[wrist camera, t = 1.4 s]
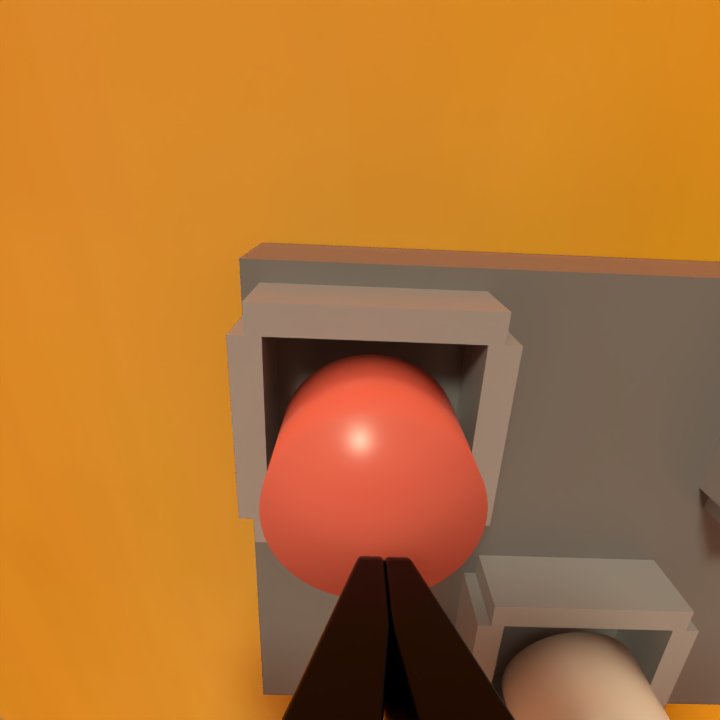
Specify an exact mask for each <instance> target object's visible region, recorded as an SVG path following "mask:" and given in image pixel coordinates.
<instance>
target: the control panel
mask: <svg viewBox="0 0 720 720" xmlns="http://www.w3.org/2000/svg"><path fill="white" fill-rule="evenodd" d="M239 261H240V279H241V297H242V315H243V316H242V317H241V318H240V319H239V320H238V322H237V323H236V324H235V325H234V326H233V328H232V329H231V330H230V331H229V333H228V334H227V335H226V340H227V355H228V369H229V383H230V397H231V412H232V426H233V440H234V454H235V469H236V483H237V497H238V511H239V518H244V519H254V532H255V550H256V568H257V586H258V605H259V623H260V641H261V659H262V677H263V694H268V695H294V693H295V690H296V688H297V686H298V684H299V682H300V680H301V678H302V676H303V673H304V671H305V669H306V667H307V665H308V663H309V661H310V658H311V656H312V654H313V652H314V650H315V648H316V646H317V644H318V641H319V639H320V637H321V635H322V633H323V631H324V629H325V626H326V624H327V622H328V620H329V618H330V616H331V614H332V612H333V609H334V607H335V605H336V603H337V601H338V599H339V597H340V596H337V595H334V594H330V593H327V592H324V591H322V590H319V589H317V588H315V587H313V586H311V585H309V584H307V583H305V582H304V581H302V580H301V579H299V578H298V577H296V576H295V575H293V574H292V573H291V572H290V571H289V570H288V569H286V568H285V567H284V566H283V565H282V563H281V562H280V561H279V560H278V559H277V558H276V557H275V555H274V553H273V552H272V550H271V549H270V547H269V546H268V543H267V541H266V539H265V537H264V534H263V531H262V528H261V523H260V516H259V501H260V496H261V491H262V487H263V483H264V480H265V477H266V474H267V470H268V467H269V464H270V461H271V457H272V454H273V451H274V448H275V444H276V441H277V438H278V434H279V431H280V428H281V425H282V421H283V418H284V415H285V412H286V409H287V406H288V404H289V401H290V400H291V398H292V396H293V394H294V393H295V391H296V390H297V389H298V387H299V386H300V385H301V384H302V383H303V382H304V381H305V380H306V379H307V378H308V377H309V376H310V375H311V374H313V373H314V372H315V371H316V370H318V369H320V368H321V367H323V366H325V365H327V364H329V363H331V362H333V361H336V360H338V359H342V358H345V357H349V356H355V355H362V354H378V355H387V356H392V357H396V358H400V359H402V360H405V361H408V362H410V363H412V364H414V365H416V366H418V367H420V368H421V369H423V370H424V371H426V372H427V373H428V374H430V375H431V376H432V377H433V378H434V379H435V380H436V381H437V382H438V383H439V384H440V386H441V387H442V388H443V389H444V391H445V392H446V394H447V396H448V397H449V399H450V402H451V404H452V406H453V409H454V411H455V414H456V416H457V419H458V421H459V423H460V426H461V428H462V431H463V433H464V435H465V438H466V440H467V443H468V445H469V448H470V450H471V452H472V455H473V457H474V460H475V462H476V465H477V467H478V469H479V472H480V474H481V477H482V479H483V481H484V484H485V489H486V493H487V501H488V512H487V521H486V524H485V528H484V532H483V534H482V536H481V539H480V541H479V543H478V545H477V546H476V548H475V550H474V551H473V553H472V554H471V555H470V556H469V558H468V559H467V560H466V561H465V563H463V564H462V565H461V566H460V567H459V568H458V569H457V570H456V571H455V572H454V573H452V574H451V575H450V576H448V577H447V578H445V579H444V580H442V581H440V582H439V583H437V584H435V585H434V586H431V587H429V588H430V590H431V591H432V593H433V594H434V596H435V597H436V599H437V600H438V602H439V603H440V605H441V606H442V608H443V610H444V611H445V613H446V614H447V616H448V617H449V619H450V620H451V622H452V623H453V625H454V627H455V628H456V630H457V631H458V633H459V634H460V636H461V637H462V639H463V640H464V642H465V644H466V645H467V647H468V648H469V650H470V651H471V653H472V654H473V656H474V657H475V659H476V660H477V662H478V664H479V665H480V667H481V668H482V670H483V671H484V673H485V674H486V676H487V677H488V679H489V681H490V682H491V684H492V685H493V687H494V688H495V690H496V691H497V693H498V694H499V696H500V697H501V699H502V701H503V702H504V704H505V705H506V703H505V700H504V696H503V692H502V688H501V681H502V676H503V673H504V670H505V669H506V667H507V665H508V664H509V662H510V661H511V660H512V659H513V658H514V657H515V656H516V655H517V654H518V653H519V652H520V651H522V650H523V649H524V648H526V647H527V646H529V645H531V644H533V643H535V642H537V641H539V640H541V639H544V638H546V637H550V636H553V635H557V634H562V633H568V632H593V633H599V634H603V635H606V636H609V637H612V638H614V639H616V640H618V641H619V642H621V643H622V644H624V645H625V646H626V647H627V648H628V649H629V650H630V651H631V653H632V654H633V656H634V658H635V660H636V661H637V663H638V665H639V667H640V668H641V670H642V672H643V674H644V675H645V677H646V679H647V681H648V682H649V684H650V686H651V687H652V689H653V691H654V693H655V694H656V696H657V698H658V700H659V701H660V703H661V705H662V707H663V708H664V709H665V706H666V704H667V703H671V704H716V705H720V262H709V261H685V260H661V259H637V258H613V257H590V256H566V255H542V254H518V253H494V252H470V251H446V250H422V249H399V248H375V247H351V246H327V245H303V244H279V243H261V244H260V245H258V246H257V247H255V248H254V249H252V250H251V251H249V252H248V253H246V254H245V255H244V256H242V257H241V258H239Z"/></svg>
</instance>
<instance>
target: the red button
mask: <svg viewBox="0 0 720 720" xmlns="http://www.w3.org/2000/svg"><path fill="white" fill-rule="evenodd" d="M487 512H488V501H487V493H486V489H485V484H484V481H483V479H482V477H481V474H480V472H479V469H478V467H477V465H476V462H475V460H474V457H473V455H472V452H471V450H470V448H469V445H468V443H467V440H466V438H465V435H464V433H463V431H462V428H461V426H460V423H459V421H458V419H457V416H456V414H455V411H454V409H453V406H452V404H451V402H450V399H449V397H448V396H447V394H446V392H445V391H444V389H443V388H442V387H441V386H440V384H439V383H438V382H437V381H436V380H435V379H434V378H433V377H432V376H431V375H430V374H428V373H427V372H426V371H424V370H423V369H421V368H420V367H418V366H416V365H414V364H412V363H410V362H408V361H405V360H402V359H400V358H396V357H392V356H387V355H378V354H362V355H355V356H349V357H345V358H342V359H338V360H336V361H333V362H331V363H329V364H327V365H325V366H323V367H321V368H320V369H318V370H316V371H315V372H314V373H313V374H311V375H310V376H309V377H308V378H307V379H306V380H305V381H304V382H303V383H302V384H301V385H300V386H299V387H298V389H297V390H296V391H295V393H294V394H293V396H292V398H291V400H290V401H289V404H288V406H287V409H286V412H285V415H284V418H283V421H282V425H281V428H280V431H279V434H278V438H277V441H276V444H275V448H274V451H273V454H272V457H271V461H270V464H269V467H268V470H267V474H266V477H265V480H264V483H263V487H262V491H261V496H260V501H259V516H260V523H261V528H262V531H263V534H264V537H265V539H266V541H267V543H268V546H269V547H270V549H271V550H272V552H273V553H274V555H275V557H276V558H277V559H278V560H279V561H280V562H281V563H282V565H283V566H284V567H285V568H286V569H288V570H289V571H290V572H291V573H292V574H293V575H295V576H296V577H298V578H299V579H301V580H302V581H304V582H305V583H307V584H309V585H311V586H313V587H315V588H317V589H319V590H322V591H324V592H327V593H330V594H334V595H337V596H340V594H341V592H342V590H343V588H344V586H345V584H346V582H347V580H348V577H349V575H350V573H351V571H352V569H353V567H354V565H355V562H356V560H357V559H358V558H359V557H360V556H380V557H382V558H383V560H385V558H386V557H408V558H409V559H411V560H412V562H413V563H414V565H415V566H416V568H417V569H418V571H419V573H420V574H421V576H422V577H423V579H424V580H425V582H426V583H427V585H428V586H429V587H431V586H434V585H435V584H437V583H439V582H440V581H442V580H444V579H445V578H447V577H448V576H450V575H451V574H452V573H454V572H455V571H456V570H457V569H458V568H459V567H460V566H461V565H462V564H463V563H465V561H466V560H467V559H468V558H469V556H470V555H471V554H472V553H473V551H474V550H475V548H476V546H477V545H478V543H479V541H480V539H481V536H482V534H483V532H484V528H485V524H486V521H487Z"/></svg>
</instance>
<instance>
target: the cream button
mask: <svg viewBox="0 0 720 720" xmlns="http://www.w3.org/2000/svg"><path fill="white" fill-rule="evenodd" d="M501 688H502V692H503V696H504V700H505V703H506V707H507V708H508V710H509V711H510V713H511V714H512V716H513V718H514V719H515V720H670V719H669V717H668V715H667V714H666V712H665V710H664V708H663V707H662V705H661V703H660V701H659V700H658V698H657V696H656V694H655V693H654V691H653V689H652V687H651V686H650V684H649V682H648V681H647V679H646V677H645V675H644V674H643V672H642V670H641V668H640V667H639V665H638V663H637V661H636V660H635V658H634V656H633V654H632V653H631V651H630V650H629V649H628V648H627V647H626V646H625V645H624V644H622V643H621V642H619V641H618V640H616V639H614V638H612V637H609V636H606V635H603V634H599V633H593V632H568V633H562V634H557V635H553V636H550V637H546V638H544V639H541V640H539V641H537V642H535V643H533V644H531V645H529V646H527V647H526V648H524V649H523V650H522V651H520V652H519V653H518V654H517V655H516V656H515V657H514V658H513V659H512V660H511V661H510V662H509V664H508V665H507V667H506V669H505V670H504V673H503V676H502V681H501Z"/></svg>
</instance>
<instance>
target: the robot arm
mask: <svg viewBox="0 0 720 720" xmlns="http://www.w3.org/2000/svg"><path fill="white" fill-rule="evenodd" d="M383 719H384V720H515V719H514V718H513V716H512V714H511V713H510V711H509V710H508V708H507V707H506V705H505V704H504V702H503V701H502V699H501V697H500V696H499V694H498V693H497V691H496V690H495V688H494V687H493V685H492V684H491V682H490V681H489V679H488V677H487V676H486V674H485V673H484V671H483V670H482V668H481V667H480V665H479V664H478V662H477V660H476V659H475V657H474V656H473V654H472V653H471V651H470V650H469V648H468V647H467V645H466V644H465V642H464V640H463V639H462V637H461V636H460V634H459V633H458V631H457V630H456V628H455V627H454V625H453V623H452V622H451V620H450V619H449V617H448V616H447V614H446V613H445V611H444V610H443V608H442V606H441V605H440V603H439V602H438V600H437V599H436V597H435V596H434V594H433V593H432V591H431V590H430V588H429V586H428V585H427V583H426V582H425V580H424V579H423V577H422V576H421V574H420V573H419V571H418V569H417V568H416V566H415V565H414V563H413V562H412V560H411V559H409V558H408V557H386V558H385V560H383V558H382V557H380V556H360V557H359V558H358V559H357V560H356V562H355V565H354V567H353V569H352V571H351V573H350V575H349V577H348V580H347V582H346V584H345V586H344V588H343V590H342V592H341V594H340V597H339V599H338V601H337V603H336V605H335V607H334V609H333V612H332V614H331V616H330V618H329V620H328V622H327V624H326V626H325V629H324V631H323V633H322V635H321V637H320V639H319V641H318V644H317V646H316V648H315V650H314V652H313V654H312V656H311V658H310V661H309V663H308V665H307V667H306V669H305V671H304V673H303V676H302V678H301V680H300V682H299V684H298V686H297V688H296V690H295V693H294V695H293V697H292V699H291V701H290V703H289V705H288V708H287V710H286V712H285V714H284V716H283V718H282V720H383Z"/></svg>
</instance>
